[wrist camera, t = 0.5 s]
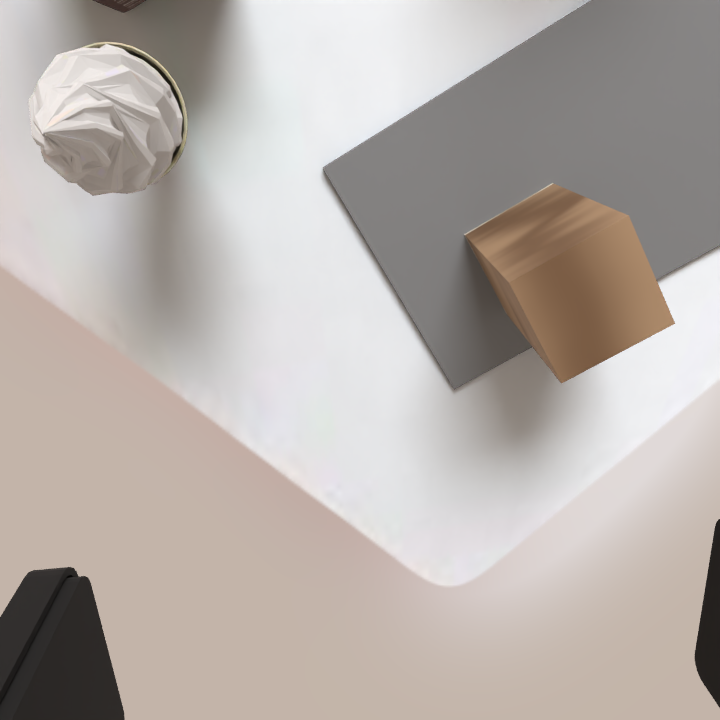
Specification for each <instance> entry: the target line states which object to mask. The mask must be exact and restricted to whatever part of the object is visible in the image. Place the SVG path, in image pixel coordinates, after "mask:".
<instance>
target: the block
mask: <svg viewBox="0 0 720 720" xmlns="http://www.w3.org/2000/svg"><path fill="white" fill-rule="evenodd" d="M464 235H465V237H466V239H467V240H468V242H469V244H470V246H471V248H472V250H473V252H474V254H475V255H476V257H477V259H478V261H479V263H480V265H481V267H482V269H483V271H484V272H485V274H486V276H487V278H488V280H489V282H490V284H491V286H492V287H493V289H494V291H495V293H496V295H497V297H498V299H499V301H500V302H501V304H502V306H503V308H504V310H505V312H506V314H507V315H508V316H509V317H510V319H511V320H512V321H513V323H514V324H515V325H516V326H517V328H518V329H519V330H520V331H521V333H522V334H523V335H524V337H525V338H526V339H527V340H528V342H529V343H530V344H531V345H532V347H533V348H534V349H535V351H536V352H537V353H538V354H539V356H540V357H541V358H542V359H543V361H544V362H545V363H546V365H547V366H548V367H549V368H550V370H551V371H552V372H553V373H554V375H555V376H556V377H557V378H558V380H559V381H560V382H561V383H563V382H565V381H567V380H569V379H571V378H573V377H575V376H576V375H578V374H580V373H582V372H584V371H586V370H588V369H590V368H592V367H593V366H595V365H597V364H599V363H601V362H603V361H605V360H607V359H609V358H611V357H612V356H614V355H616V354H618V353H620V352H622V351H624V350H626V349H628V348H629V347H631V346H633V345H635V344H637V343H639V342H641V341H643V340H645V339H646V338H648V337H650V336H652V335H654V334H656V333H658V332H660V331H662V330H664V329H665V328H667V327H669V326H671V325H673V324H675V323H674V320H673V318H672V316H671V313H670V311H669V308H668V306H667V304H666V301H665V299H664V297H663V294H662V292H661V290H660V287H659V285H658V283H657V280H656V278H655V276H654V273H653V271H652V269H651V266H650V264H649V262H648V259H647V257H646V255H645V252H644V250H643V248H642V245H641V243H640V241H639V238H638V236H637V234H636V231H635V229H634V227H633V224H632V222H631V220H630V217H629V215H626V214H624V213H622V212H619V211H617V210H615V209H612V208H610V207H608V206H605V205H603V204H601V203H598V202H596V201H594V200H591V199H589V198H586V197H584V196H582V195H579V194H577V193H575V192H572V191H570V190H568V189H565V188H563V187H561V186H558V185H556V184H554V183H552V184H550V185H548V186H546V187H545V188H543V189H541V190H540V191H538V192H536V193H534V194H533V195H531V196H529V197H528V198H526V199H524V200H522V201H521V202H519V203H517V204H516V205H514V206H512V207H510V208H509V209H507V210H505V211H504V212H502V213H500V214H498V215H497V216H495V217H493V218H492V219H490V220H488V221H486V222H485V223H483V224H481V225H479V226H478V227H476V228H474V229H473V230H471V231H469V232H467V233H466V234H464Z"/></svg>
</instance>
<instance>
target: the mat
mask: <svg viewBox="0 0 720 720" xmlns="http://www.w3.org/2000/svg"><path fill="white" fill-rule="evenodd" d="M323 170H324V171H325V173H326V175H327V176H328V178H329V180H330V181H331V183H332V185H333V186H334V188H335V190H336V191H337V193H338V195H339V196H340V198H341V200H342V201H343V203H344V205H345V207H346V208H347V210H348V212H349V213H350V215H351V217H352V218H353V220H354V222H355V223H356V225H357V227H358V228H359V230H360V232H361V233H362V235H363V237H364V239H365V240H366V242H367V244H368V245H369V247H370V249H371V250H372V252H373V254H374V255H375V257H376V259H377V260H378V262H379V264H380V265H381V267H382V269H383V271H384V272H385V274H386V276H387V277H388V279H389V281H390V282H391V284H392V286H393V287H394V289H395V291H396V292H397V294H398V296H399V297H400V299H401V301H402V302H403V304H404V306H405V308H406V309H407V311H408V313H409V314H410V316H411V318H412V319H413V321H414V323H415V324H416V326H417V328H418V329H419V331H420V333H421V334H422V336H423V338H424V340H425V341H426V343H427V345H428V346H429V348H430V350H431V351H432V353H433V355H434V356H435V358H436V360H437V361H438V363H439V365H440V366H441V368H442V370H443V372H444V373H445V375H446V377H447V378H448V380H449V382H450V383H451V385H452V387H453V388H454V389H456V388H457V387H459V386H461V385H463V384H465V383H467V382H468V381H470V380H472V379H474V378H476V377H478V376H479V375H481V374H483V373H485V372H487V371H489V370H491V369H492V368H494V367H496V366H498V365H500V364H502V363H503V362H505V361H507V360H509V359H511V358H513V357H515V356H516V355H518V354H520V353H522V352H524V351H526V350H527V349H529V348H531V347H532V345H531V344H530V343H529V342H528V340H527V339H526V338H525V337H524V335H523V334H522V333H521V331H520V330H519V329H518V328H517V326H516V325H515V324H514V323H513V321H512V320H511V319H510V317H509V316H508V315H507V314H506V312H505V310H504V308H503V306H502V304H501V302H500V301H499V299H498V297H497V295H496V293H495V291H494V289H493V287H492V286H491V284H490V282H489V280H488V278H487V276H486V274H485V272H484V271H483V269H482V267H481V265H480V263H479V261H478V259H477V257H476V255H475V254H474V252H473V250H472V248H471V246H470V244H469V242H468V240H467V239H466V237H465V235H464V234H466V233H467V232H469V231H471V230H473V229H474V228H476V227H478V226H479V225H481V224H483V223H485V222H486V221H488V220H490V219H492V218H493V217H495V216H497V215H498V214H500V213H502V212H504V211H505V210H507V209H509V208H510V207H512V206H514V205H516V204H517V203H519V202H521V201H522V200H524V199H526V198H528V197H529V196H531V195H533V194H534V193H536V192H538V191H540V190H541V189H543V188H545V187H546V186H548V185H550V184H552V183H554V184H556V185H558V186H561V187H563V188H565V189H568V190H570V191H572V192H575V193H577V194H579V195H582V196H584V197H586V198H589V199H591V200H594V201H596V202H598V203H601V204H603V205H605V206H608V207H610V208H612V209H615V210H617V211H619V212H622V213H624V214H626V215H629V217H630V220H631V222H632V224H633V227H634V229H635V231H636V234H637V236H638V238H639V241H640V243H641V245H642V248H643V250H644V252H645V255H646V257H647V259H648V262H649V264H650V266H651V269H652V271H653V273H654V276H655V278H656V280H657V279H658V278H660V277H662V276H664V275H666V274H668V273H670V272H671V271H673V270H675V269H677V268H679V267H681V266H682V265H684V264H686V263H688V262H690V261H692V260H694V259H695V258H697V257H699V256H701V255H703V254H705V253H706V252H708V251H710V250H712V249H714V248H716V247H717V246H719V245H720V0H591V1H589V2H588V3H586V4H584V5H583V6H581V7H580V8H578V9H576V10H575V11H573V12H572V13H570V14H568V15H567V16H565V17H564V18H562V19H560V20H559V21H557V22H556V23H554V24H552V25H551V26H549V27H548V28H546V29H544V30H543V31H541V32H540V33H538V34H536V35H535V36H533V37H531V38H530V39H528V40H527V41H525V42H523V43H522V44H520V45H519V46H517V47H515V48H514V49H512V50H511V51H509V52H507V53H506V54H504V55H503V56H501V57H499V58H498V59H496V60H495V61H493V62H491V63H490V64H488V65H487V66H485V67H483V68H482V69H480V70H479V71H477V72H475V73H474V74H472V75H471V76H469V77H467V78H466V79H464V80H463V81H461V82H459V83H458V84H456V85H454V86H453V87H451V88H450V89H448V90H446V91H445V92H443V93H442V94H440V95H438V96H437V97H435V98H434V99H432V100H430V101H429V102H427V103H426V104H424V105H422V106H421V107H419V108H418V109H416V110H414V111H413V112H411V113H410V114H408V115H406V116H405V117H403V118H402V119H400V120H398V121H397V122H395V123H394V124H392V125H390V126H389V127H387V128H386V129H384V130H382V131H381V132H379V133H377V134H376V135H374V136H373V137H371V138H369V139H368V140H366V141H365V142H363V143H361V144H360V145H358V146H357V147H355V148H353V149H352V150H350V151H349V152H347V153H345V154H344V155H342V156H341V157H339V158H337V159H336V160H334V161H333V162H331V163H329V164H328V165H326V166H325V167H323Z"/></svg>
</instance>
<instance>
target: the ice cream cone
mask: <svg viewBox="0 0 720 720" xmlns="http://www.w3.org/2000/svg"><path fill="white" fill-rule="evenodd" d="M28 104H29V113H30V122H31V131H32V137H33V139H34V140H35V142H36V143H37V145H39V146H41V153H42V156H43V159H44V161H45V162H46V163H47V164H48V165H49V166H50V167H51V168H53V169H54V170H55V171H56V172H57V173H58V174H60V175H61V176H62V177H63V178H64V179H65V180H67V181H68V182H71V183H77V184H78V185H79V186H80V187H81V188H82V189H84V190H85V191H86V192H88V193H90V194H91V195H93V196H94V195H100V194H106V193H112V192H113V193H126V194H127V193H133V192H137V191H141V190H144V189H145V188H146V186H147V185H149V184H155V183H157V182H158V180H159V179H160V178H162V177H163V176H164V175H165V174H167V173H168V172H169V171H170V170H171V169H172V167H173V166H174V165H175V164H176V162H177V161H178V159H179V157H180V156H181V154H182V151H183V148H184V145H185V142H186V136H187V113H186V107H185V103H184V100H183V97H182V95H181V92H180V90H179V88H178V86H177V84H176V83H175V81H174V79H173V78H172V77H171V75H170V74H169V73H168V71H167V70H166V69H165V68H164V67H163V66H162V65H161V64H160V63H159V62H158V61H157V60H155V59H154V58H153V57H151V56H150V55H148V54H147V53H146V52H144V51H141V50H139V49H137V48H135V47H133V46H130V45H126V44H123V43H116V42H99V43H93V44H90V45H87V46H84V47H82V48H79V49H75V50H72V51H68V52H65V53H61V54H57V55H56V56H55V58H54V59H53V61H52V62H51V63H50V65H49V66H48V68H47V69H46V71H45V72H44V73H43V75H42V76H41V78H40V79H39V81H38V82H37V84H36V87H35V89H34V93H33V94H32V96H31V97H30V99H29V100H28Z"/></svg>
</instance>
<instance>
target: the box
mask: <svg viewBox="0 0 720 720" xmlns="http://www.w3.org/2000/svg"><path fill="white" fill-rule="evenodd" d="M93 1H96V2H98V3H100V4H103V5H105V6H108V7H111V8H113V9H115V10H118V11H121V12H123V13H124V12H127V11H129V10H131V9H132V8H134V7H136V6H137V5H139V4H141V3H143V2H144V1H146V0H93Z"/></svg>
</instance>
